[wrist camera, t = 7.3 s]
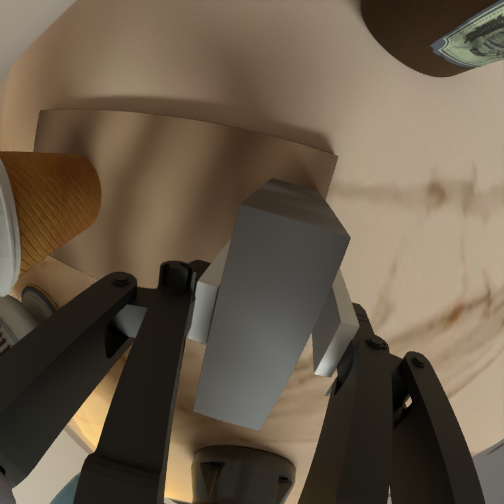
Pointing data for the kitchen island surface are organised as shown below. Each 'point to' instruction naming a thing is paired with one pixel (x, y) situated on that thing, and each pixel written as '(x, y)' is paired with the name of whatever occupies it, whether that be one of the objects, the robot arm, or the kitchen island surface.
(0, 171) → the disposable coffee cup
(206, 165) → the walnut board
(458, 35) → the olive oil
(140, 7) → the kitchen island surface
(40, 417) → the robot arm
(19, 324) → the apothecary jar
